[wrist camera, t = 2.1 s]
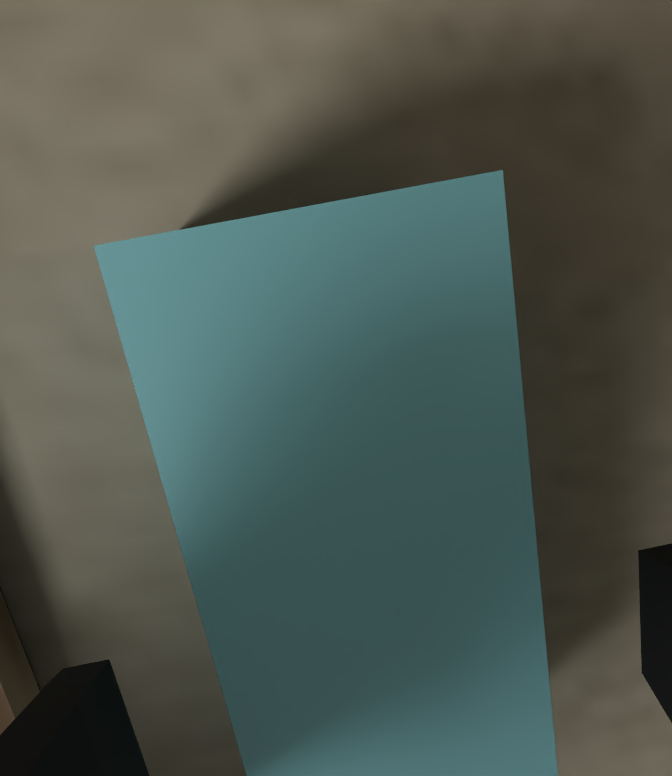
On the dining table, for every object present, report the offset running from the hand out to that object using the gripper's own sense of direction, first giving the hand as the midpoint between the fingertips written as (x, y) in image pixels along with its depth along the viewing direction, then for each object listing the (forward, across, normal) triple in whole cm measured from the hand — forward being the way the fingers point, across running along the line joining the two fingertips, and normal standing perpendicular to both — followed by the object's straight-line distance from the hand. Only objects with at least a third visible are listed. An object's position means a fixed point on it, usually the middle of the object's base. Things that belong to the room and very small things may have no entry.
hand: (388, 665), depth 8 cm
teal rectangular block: (+4, 0, 0) cm, 4 cm away
